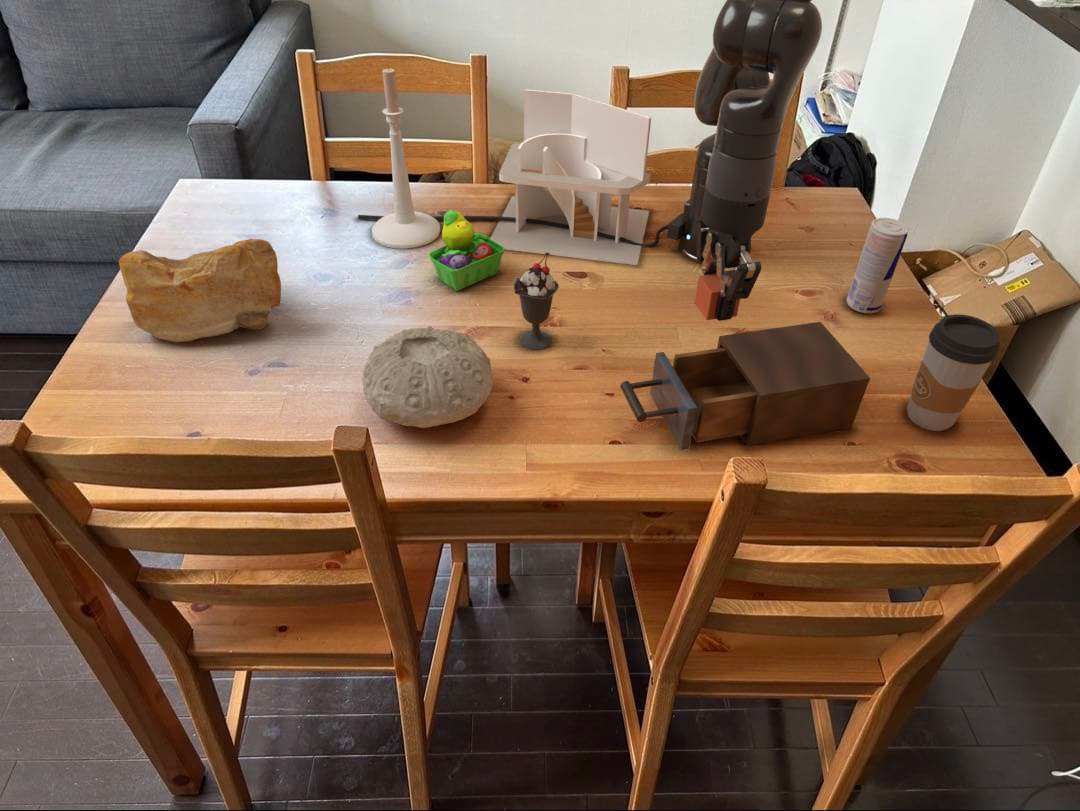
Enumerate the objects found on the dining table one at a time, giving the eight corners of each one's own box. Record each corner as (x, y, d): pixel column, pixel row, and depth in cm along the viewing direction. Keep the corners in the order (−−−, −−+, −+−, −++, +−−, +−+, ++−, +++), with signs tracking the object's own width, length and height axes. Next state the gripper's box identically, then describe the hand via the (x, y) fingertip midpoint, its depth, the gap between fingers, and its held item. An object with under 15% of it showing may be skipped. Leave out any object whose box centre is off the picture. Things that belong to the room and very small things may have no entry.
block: (706, 320, 101) (711, 292, 98) (694, 303, 104) (698, 275, 101) (736, 316, 102) (742, 288, 99) (723, 299, 105) (728, 271, 102)
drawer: (639, 457, 103) (645, 415, 98) (611, 399, 111) (616, 358, 106) (780, 433, 106) (793, 392, 101) (743, 379, 115) (752, 338, 110)
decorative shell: (449, 349, 121) (444, 294, 114) (519, 410, 111) (518, 354, 104) (344, 395, 112) (333, 339, 106) (410, 466, 102) (402, 408, 95)
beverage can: (882, 317, 129) (912, 236, 119) (847, 313, 130) (873, 231, 120) (878, 298, 133) (907, 218, 123) (844, 294, 134) (870, 214, 124)
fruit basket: (455, 297, 132) (451, 237, 124) (424, 276, 137) (419, 217, 129) (507, 274, 137) (506, 215, 130) (476, 254, 142) (474, 196, 135)
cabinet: (747, 447, 106) (761, 395, 100) (708, 386, 115) (719, 335, 109) (851, 429, 109) (870, 378, 102) (805, 371, 118) (820, 321, 112)
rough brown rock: (308, 291, 134) (289, 207, 125) (288, 342, 121) (266, 253, 112) (170, 297, 133) (142, 214, 124) (135, 350, 120) (100, 261, 111)
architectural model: (485, 247, 144) (481, 121, 129) (512, 195, 160) (511, 78, 145) (637, 265, 140) (651, 137, 125) (649, 210, 156) (663, 91, 140)
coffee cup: (888, 399, 114) (923, 313, 104) (943, 396, 114) (983, 310, 104) (913, 438, 107) (953, 351, 97) (972, 435, 108) (1017, 348, 98)
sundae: (562, 332, 125) (565, 249, 115) (548, 357, 120) (551, 272, 110) (523, 324, 126) (523, 241, 116) (508, 348, 121) (507, 263, 112)
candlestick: (404, 209, 155) (387, 49, 135) (454, 228, 150) (443, 65, 130) (357, 234, 147) (331, 69, 127) (407, 255, 142) (388, 86, 122)
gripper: (685, 163, 96) (668, 283, 107) (735, 216, 85) (711, 343, 97) (741, 157, 97) (719, 277, 108) (797, 209, 87) (766, 335, 98)
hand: (715, 308), depth 102 cm, fingers closed on block, 4 cm apart
